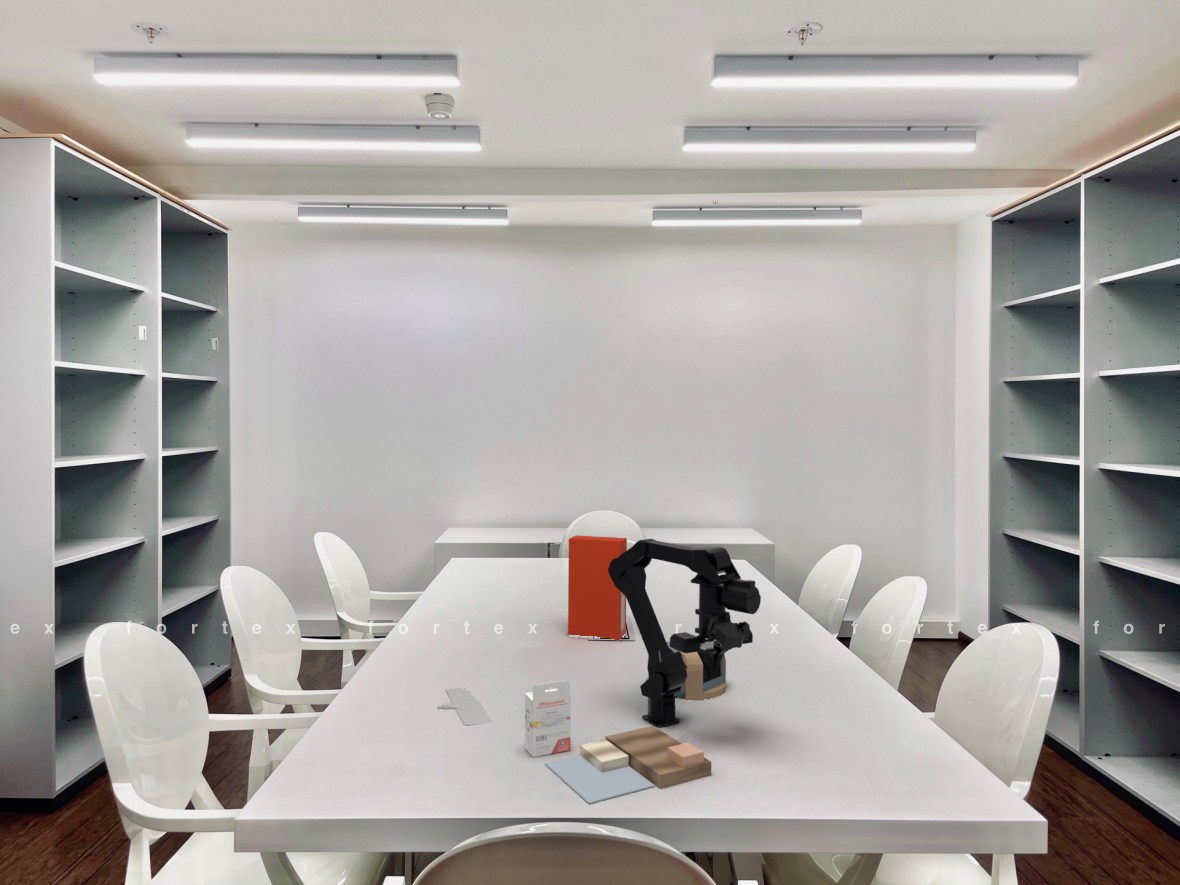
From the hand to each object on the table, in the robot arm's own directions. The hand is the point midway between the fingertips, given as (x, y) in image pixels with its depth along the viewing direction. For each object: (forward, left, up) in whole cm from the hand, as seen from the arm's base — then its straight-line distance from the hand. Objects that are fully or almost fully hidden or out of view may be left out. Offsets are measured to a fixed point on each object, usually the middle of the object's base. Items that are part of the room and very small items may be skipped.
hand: (711, 677), depth 161 cm
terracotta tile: (+11, -15, -10) cm, 21 cm away
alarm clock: (-29, +15, -13) cm, 35 cm away
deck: (+4, -17, -13) cm, 22 cm away
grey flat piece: (-42, -35, -14) cm, 57 cm away
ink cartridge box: (-11, -34, -13) cm, 38 cm away
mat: (+4, -30, -13) cm, 33 cm away
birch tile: (-1, -26, -13) cm, 29 cm away
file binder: (-81, +18, -13) cm, 84 cm away
